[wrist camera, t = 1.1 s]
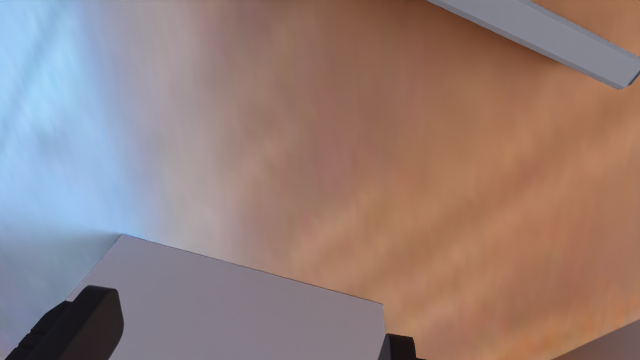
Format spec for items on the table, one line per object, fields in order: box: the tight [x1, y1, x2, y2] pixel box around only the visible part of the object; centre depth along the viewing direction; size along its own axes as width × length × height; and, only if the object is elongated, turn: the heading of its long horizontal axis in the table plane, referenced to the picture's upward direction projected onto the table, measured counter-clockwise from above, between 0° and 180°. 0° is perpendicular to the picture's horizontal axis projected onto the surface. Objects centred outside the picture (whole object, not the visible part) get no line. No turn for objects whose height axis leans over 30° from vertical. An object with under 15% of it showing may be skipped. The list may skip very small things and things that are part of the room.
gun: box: [427, 0, 640, 90], centre depth 30 cm, size 2×25×10 cm, turn 68°
